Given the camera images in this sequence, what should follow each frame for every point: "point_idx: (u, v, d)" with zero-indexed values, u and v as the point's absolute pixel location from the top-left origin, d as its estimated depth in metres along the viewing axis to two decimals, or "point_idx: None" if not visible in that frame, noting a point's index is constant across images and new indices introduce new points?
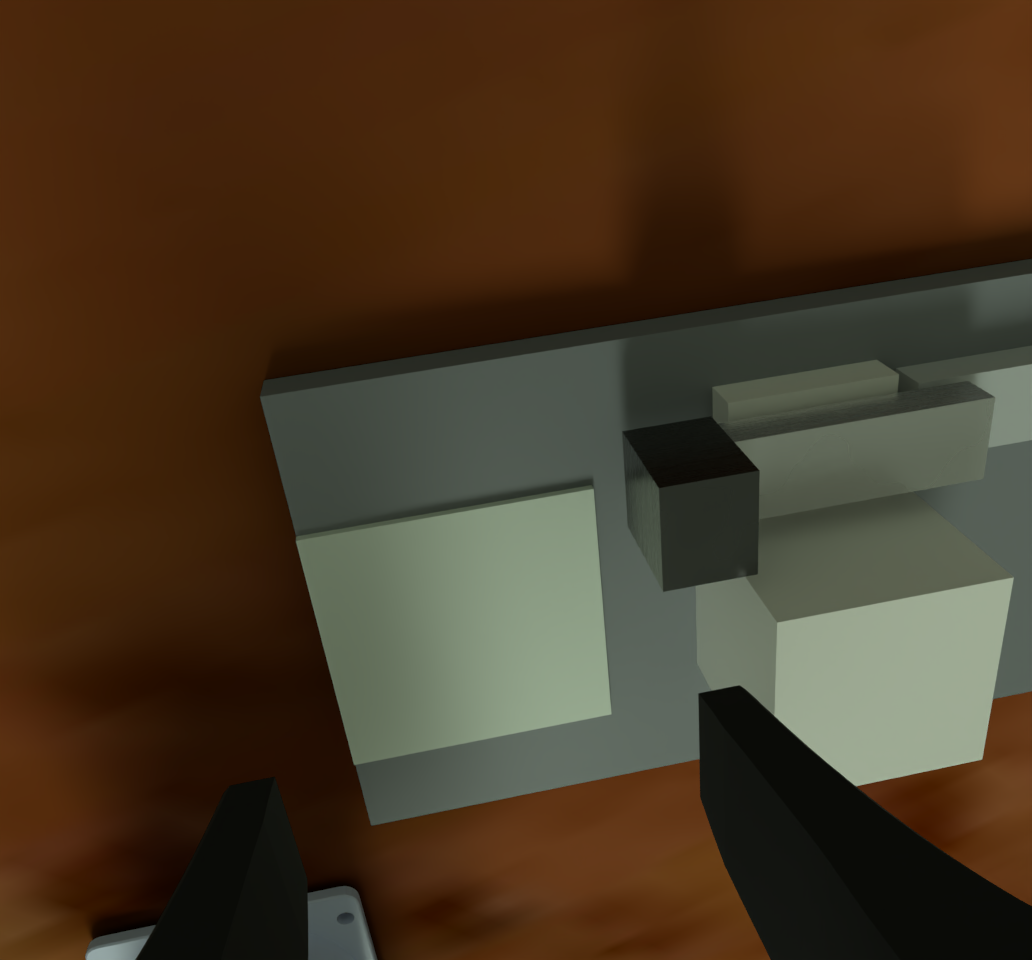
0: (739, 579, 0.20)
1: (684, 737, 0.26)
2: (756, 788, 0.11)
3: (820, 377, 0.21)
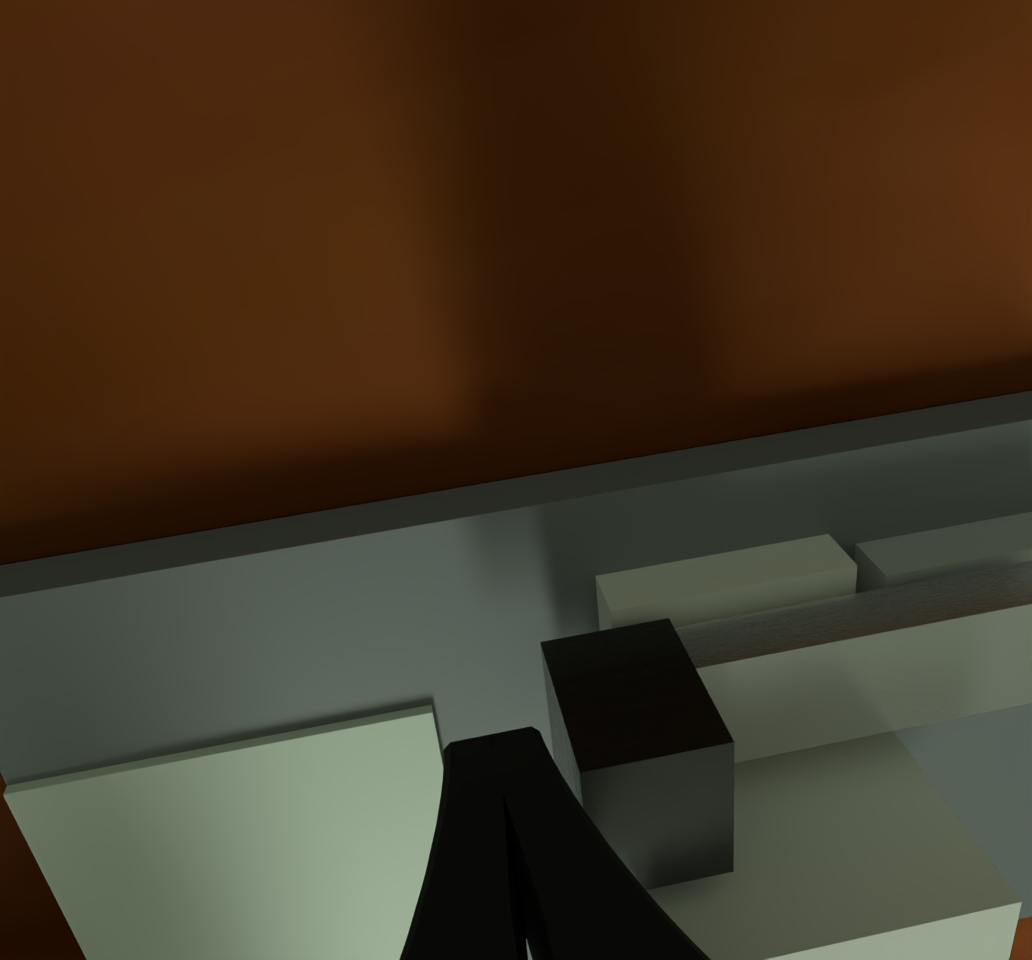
0: None
1: None
2: (515, 838, 0.11)
3: (746, 565, 0.15)
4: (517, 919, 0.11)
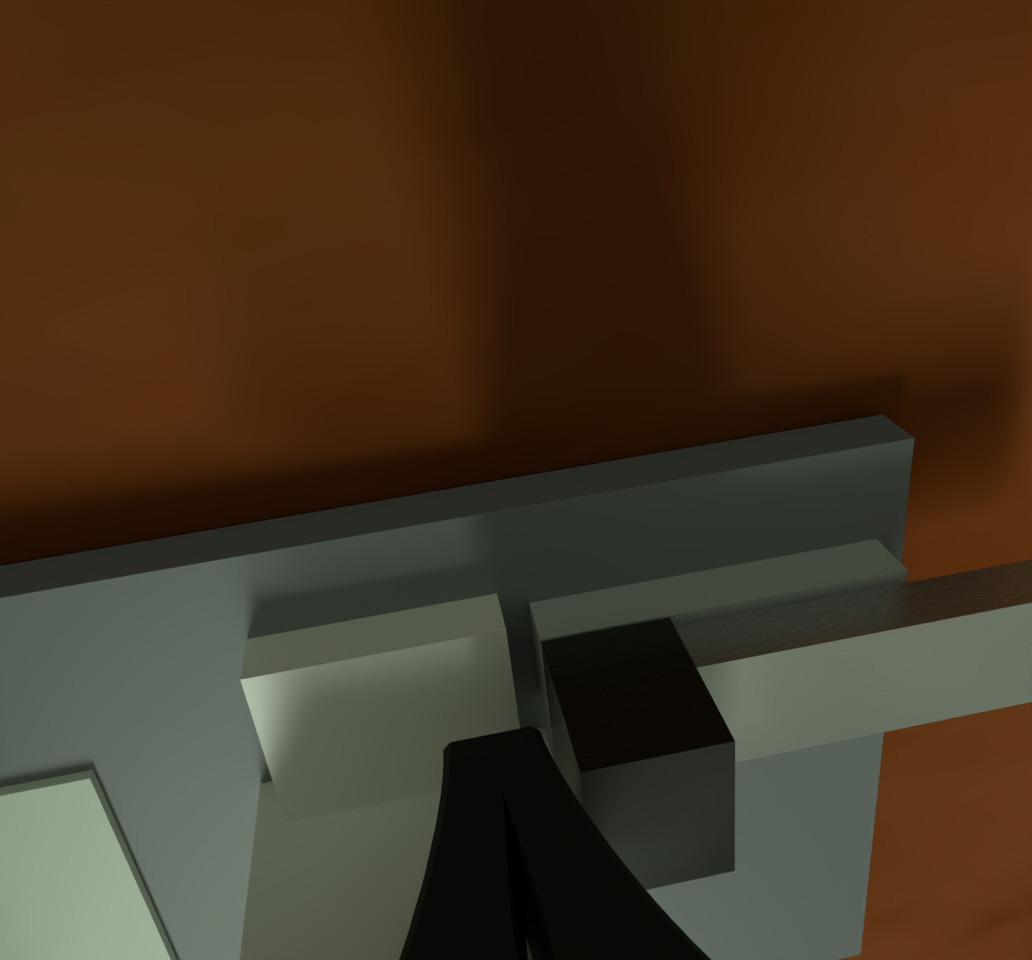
0: None
1: None
2: (515, 838, 0.11)
3: (398, 629, 0.14)
4: (517, 919, 0.11)
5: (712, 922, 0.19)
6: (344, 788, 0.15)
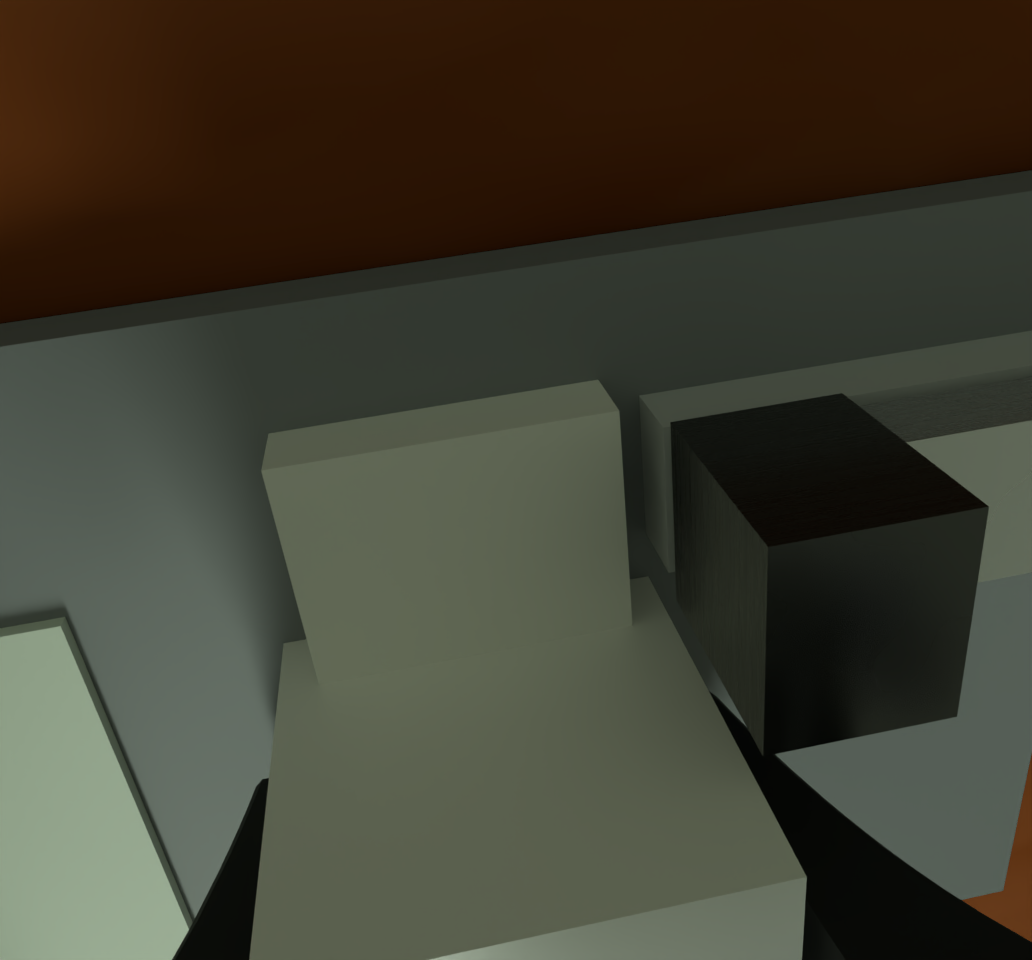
0: None
1: None
2: None
3: (471, 416, 0.11)
4: None
5: None
6: (396, 638, 0.11)
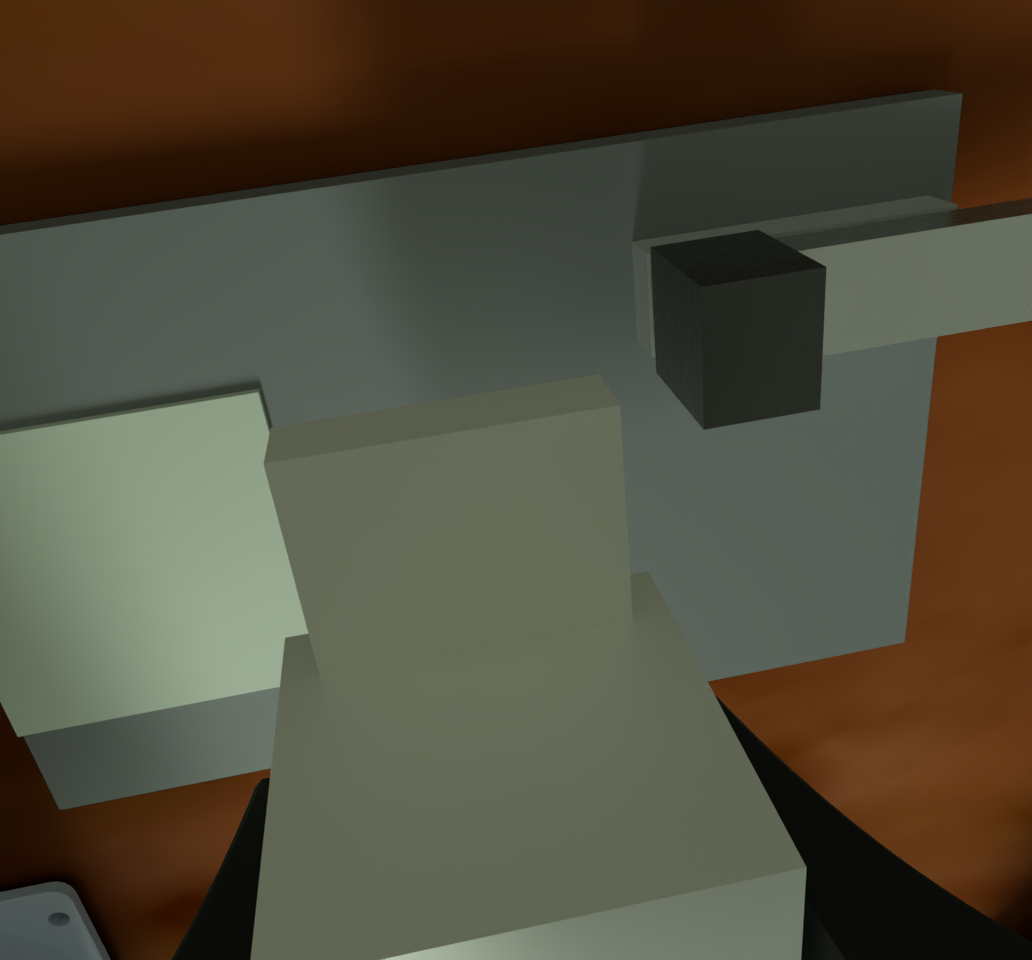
0: None
1: None
2: None
3: (473, 410, 0.11)
4: None
5: (775, 595, 0.22)
6: (397, 631, 0.11)
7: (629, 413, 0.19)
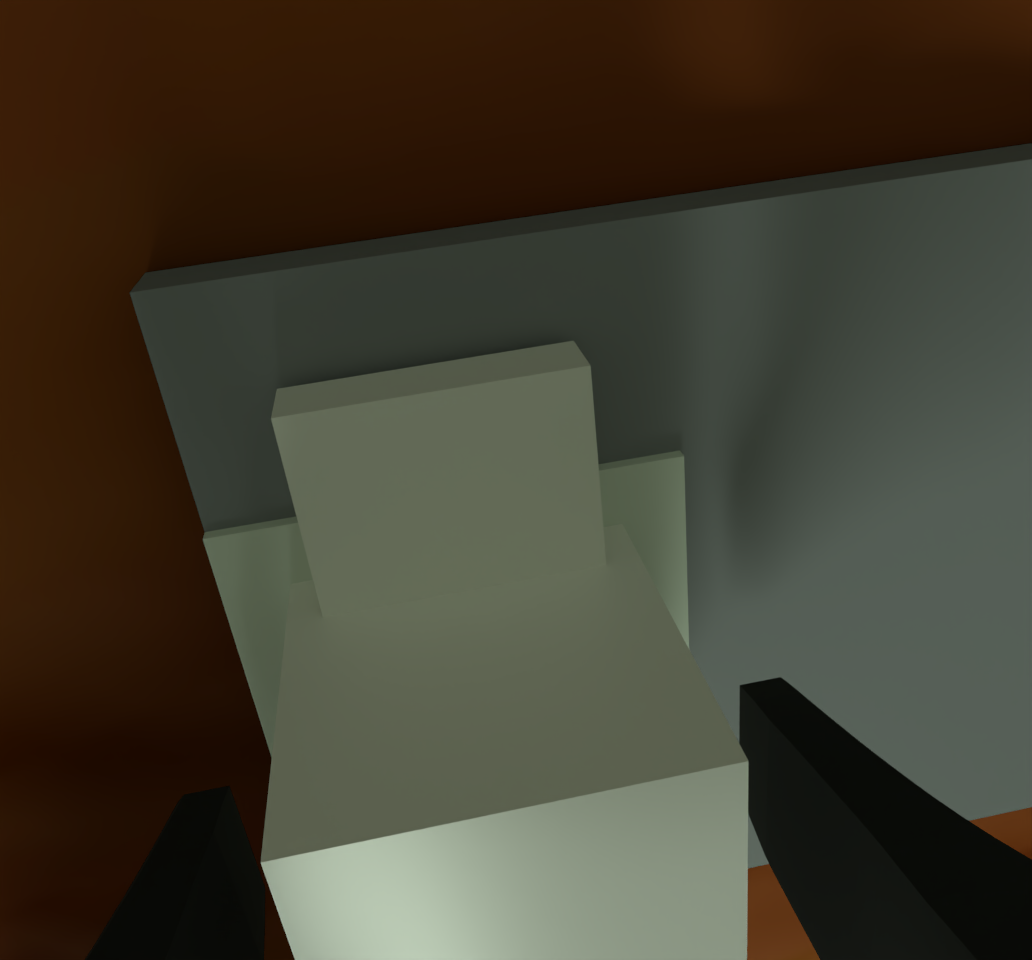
0: None
1: None
2: (804, 778, 0.11)
3: (459, 371, 0.12)
4: None
5: None
6: (392, 574, 0.12)
7: None
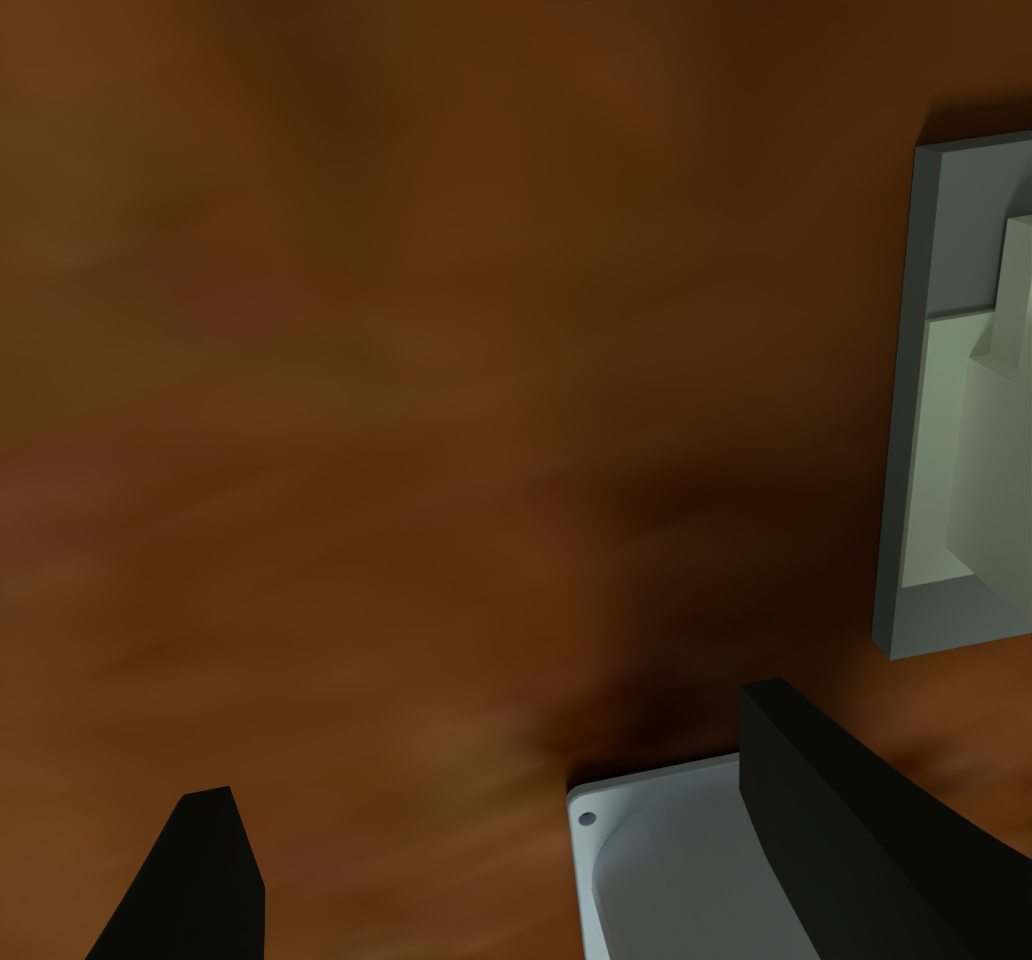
0: None
1: None
2: (804, 778, 0.11)
3: None
4: None
5: None
6: None
7: None
